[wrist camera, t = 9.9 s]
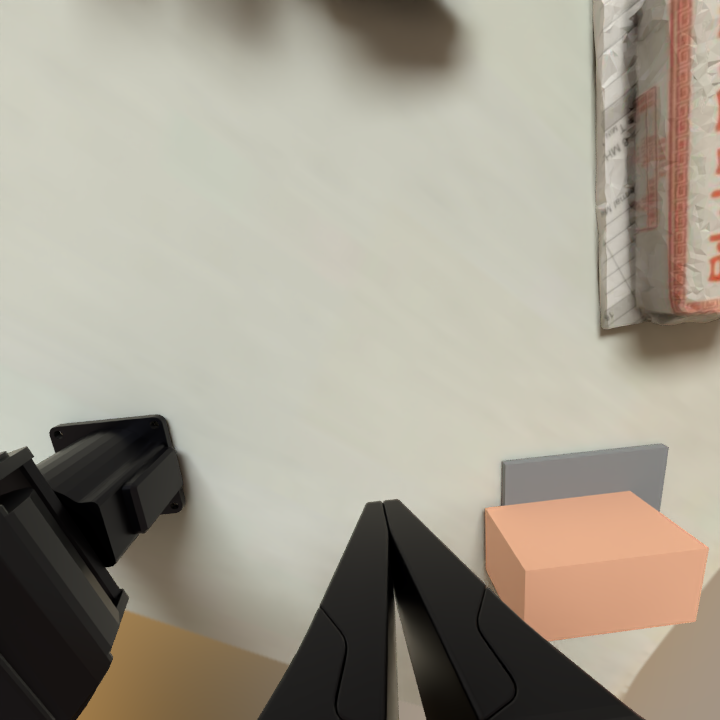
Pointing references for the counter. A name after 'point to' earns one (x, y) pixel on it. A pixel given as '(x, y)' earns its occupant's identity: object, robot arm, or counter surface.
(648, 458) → the gray square plate
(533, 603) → the terracotta block
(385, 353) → the counter surface
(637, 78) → the packaged product
